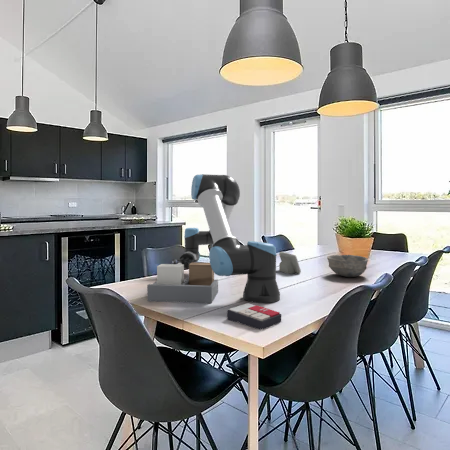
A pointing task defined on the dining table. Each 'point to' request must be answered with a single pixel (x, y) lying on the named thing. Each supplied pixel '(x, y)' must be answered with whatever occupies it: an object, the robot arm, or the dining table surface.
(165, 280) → the light grey block
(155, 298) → the grey tray
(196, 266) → the brown block
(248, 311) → the calculator
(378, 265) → the dining table surface
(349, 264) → the bowl
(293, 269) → the grey lumpy piece
